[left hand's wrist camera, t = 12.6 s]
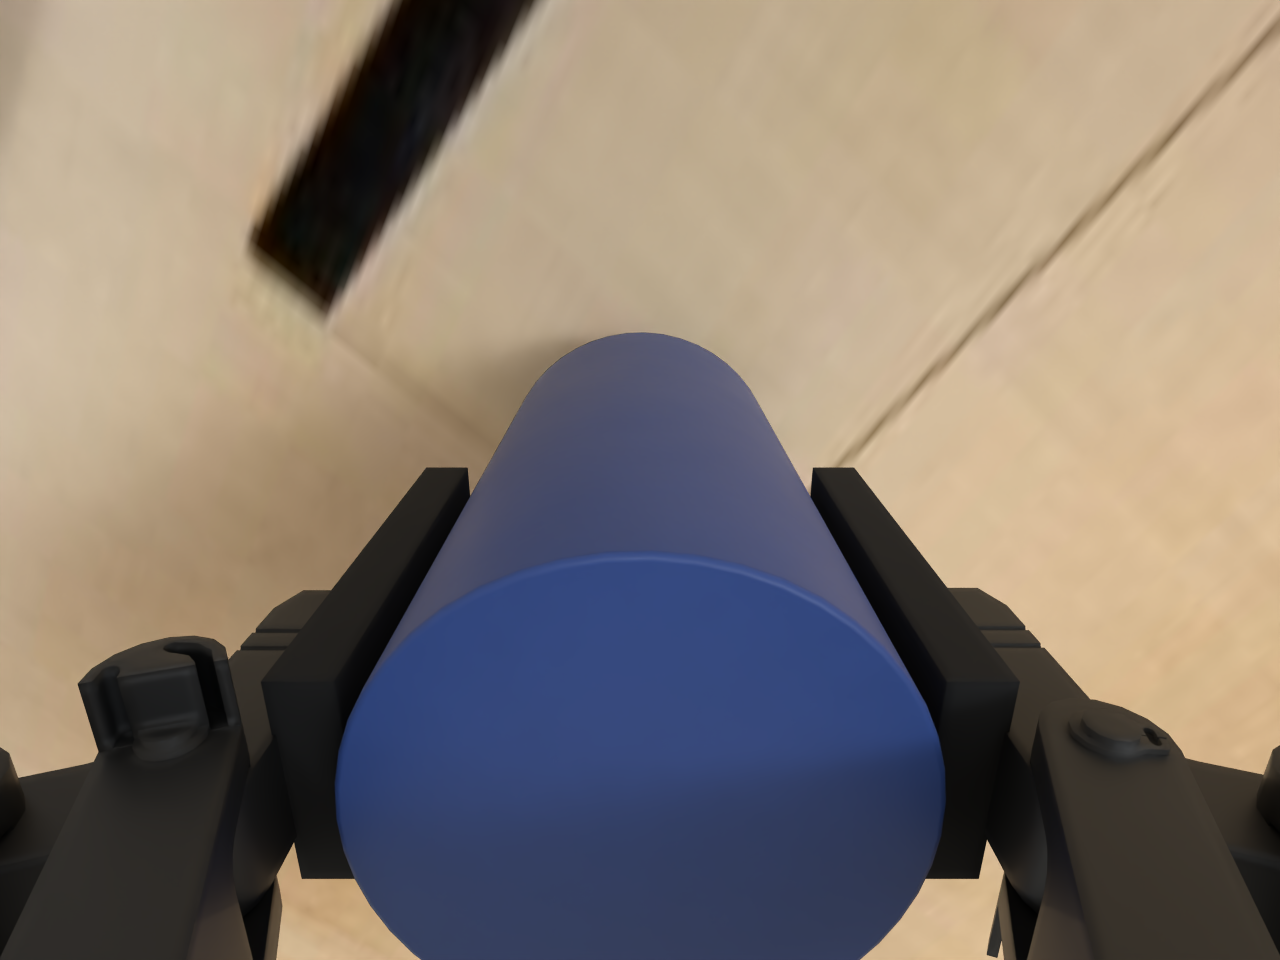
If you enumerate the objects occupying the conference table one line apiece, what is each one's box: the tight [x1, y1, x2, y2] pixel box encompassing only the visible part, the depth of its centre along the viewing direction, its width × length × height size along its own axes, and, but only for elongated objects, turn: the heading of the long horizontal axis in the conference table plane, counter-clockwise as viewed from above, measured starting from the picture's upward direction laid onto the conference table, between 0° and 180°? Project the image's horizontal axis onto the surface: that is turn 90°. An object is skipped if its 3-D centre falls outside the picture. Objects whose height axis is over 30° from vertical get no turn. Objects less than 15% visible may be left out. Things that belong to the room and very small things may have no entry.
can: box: [335, 333, 946, 960], centre depth 13 cm, size 6×6×12 cm
